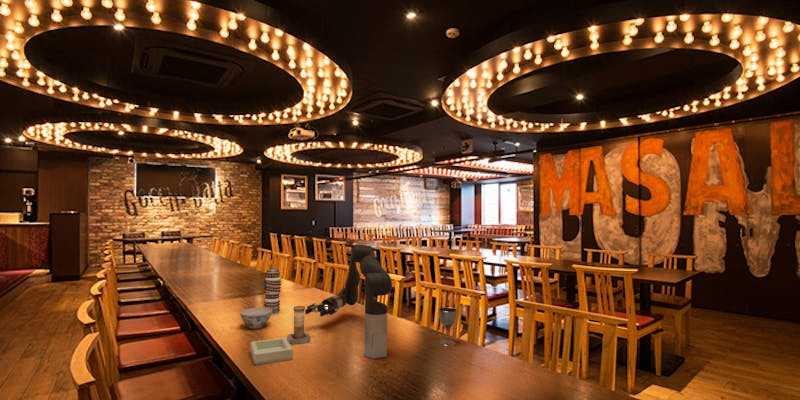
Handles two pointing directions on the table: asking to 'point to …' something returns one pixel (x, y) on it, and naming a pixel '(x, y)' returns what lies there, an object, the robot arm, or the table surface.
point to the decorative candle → (272, 291)
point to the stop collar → (298, 339)
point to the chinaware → (255, 317)
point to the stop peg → (299, 322)
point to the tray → (271, 351)
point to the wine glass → (447, 322)
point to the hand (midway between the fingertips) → (313, 313)
